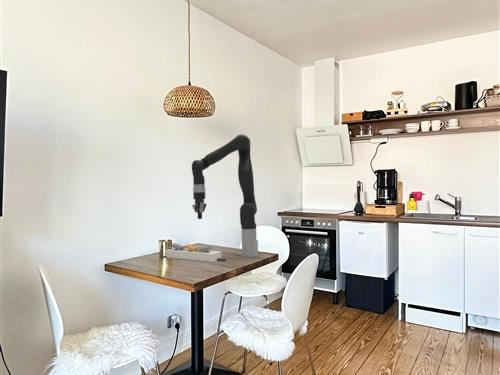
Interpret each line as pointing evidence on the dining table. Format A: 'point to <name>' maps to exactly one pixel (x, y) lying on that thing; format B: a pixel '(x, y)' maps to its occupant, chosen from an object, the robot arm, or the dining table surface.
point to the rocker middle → (191, 247)
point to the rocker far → (177, 246)
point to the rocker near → (205, 248)
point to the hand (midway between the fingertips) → (199, 218)
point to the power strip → (194, 254)
